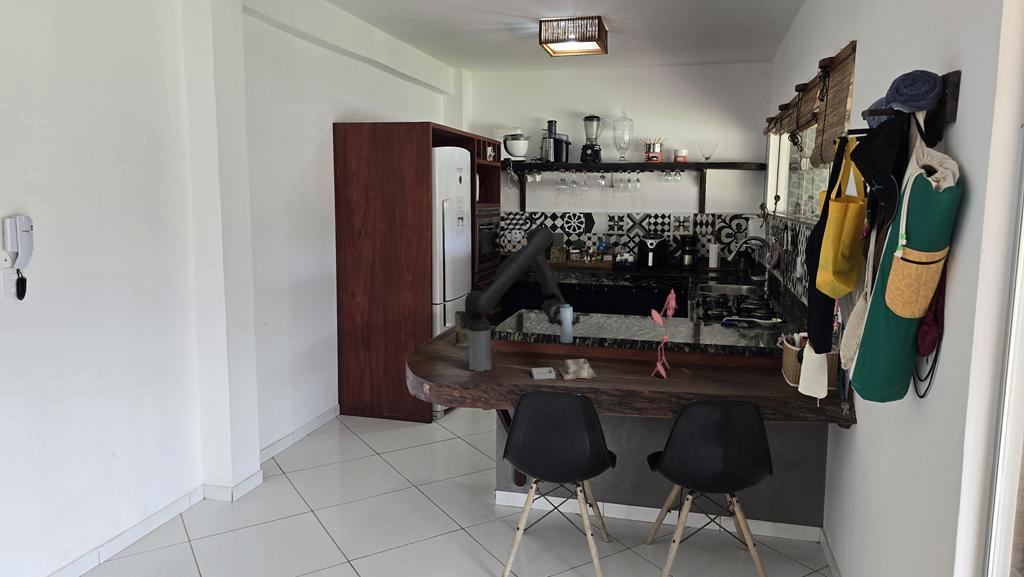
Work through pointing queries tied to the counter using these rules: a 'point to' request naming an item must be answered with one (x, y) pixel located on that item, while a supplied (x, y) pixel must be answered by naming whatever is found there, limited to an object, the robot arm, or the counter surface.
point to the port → (577, 369)
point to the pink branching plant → (658, 319)
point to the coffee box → (461, 329)
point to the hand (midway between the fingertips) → (567, 323)
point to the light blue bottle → (566, 324)
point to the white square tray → (543, 373)
